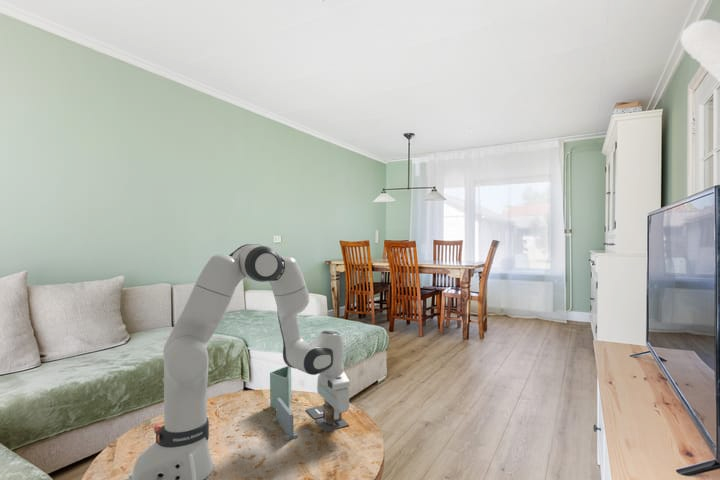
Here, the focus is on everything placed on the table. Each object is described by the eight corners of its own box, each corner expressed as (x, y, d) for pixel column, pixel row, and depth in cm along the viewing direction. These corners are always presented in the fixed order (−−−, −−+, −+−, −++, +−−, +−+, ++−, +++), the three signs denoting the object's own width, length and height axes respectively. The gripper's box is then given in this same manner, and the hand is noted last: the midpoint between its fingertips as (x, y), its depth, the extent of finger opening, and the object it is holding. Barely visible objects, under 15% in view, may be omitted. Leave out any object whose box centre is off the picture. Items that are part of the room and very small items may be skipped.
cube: (328, 424, 131) (328, 409, 131) (322, 418, 135) (322, 403, 135) (341, 420, 133) (341, 406, 133) (335, 415, 137) (335, 400, 138)
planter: (272, 398, 157) (272, 351, 157) (291, 396, 158) (291, 350, 158) (267, 415, 141) (267, 363, 141) (288, 414, 142) (288, 362, 142)
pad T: (325, 432, 128) (325, 430, 128) (315, 421, 136) (315, 419, 136) (349, 425, 132) (349, 424, 132) (338, 415, 140) (338, 414, 140)
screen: (286, 440, 123) (285, 416, 123) (272, 420, 137) (272, 398, 137) (297, 437, 125) (297, 413, 125) (283, 418, 139) (283, 396, 139)
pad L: (314, 419, 137) (314, 418, 137) (305, 410, 145) (305, 408, 145) (336, 414, 141) (336, 412, 141) (327, 405, 149) (327, 403, 149)
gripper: (312, 369, 142) (313, 405, 142) (335, 387, 124) (335, 429, 124) (328, 366, 145) (328, 402, 145) (352, 383, 127) (352, 424, 127)
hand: (332, 414), depth 134 cm, fingers closed on cube, 5 cm apart
